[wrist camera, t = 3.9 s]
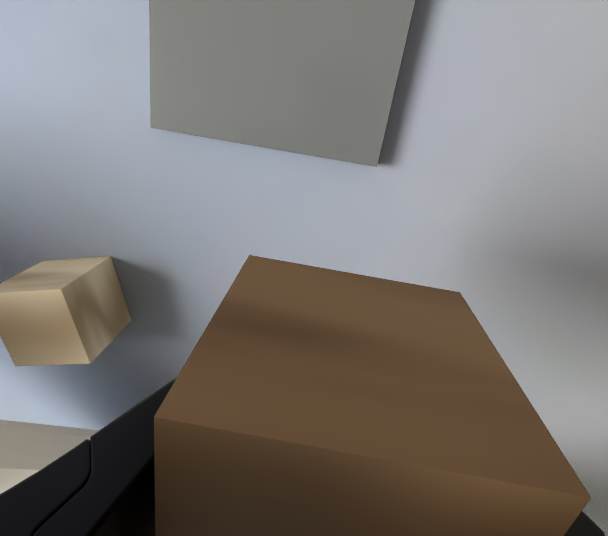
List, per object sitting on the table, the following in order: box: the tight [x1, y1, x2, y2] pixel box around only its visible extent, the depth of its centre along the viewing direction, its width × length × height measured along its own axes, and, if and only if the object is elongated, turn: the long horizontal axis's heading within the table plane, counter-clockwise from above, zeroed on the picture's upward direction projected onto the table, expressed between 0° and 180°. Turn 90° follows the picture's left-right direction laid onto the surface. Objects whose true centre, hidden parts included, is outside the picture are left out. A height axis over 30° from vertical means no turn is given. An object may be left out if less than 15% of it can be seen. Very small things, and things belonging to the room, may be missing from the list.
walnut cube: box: [154, 255, 591, 536], centre depth 8 cm, size 5×5×5 cm
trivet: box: [149, 0, 415, 167], centre depth 15 cm, size 8×10×1 cm
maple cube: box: [0, 256, 132, 366], centre depth 19 cm, size 4×4×4 cm
